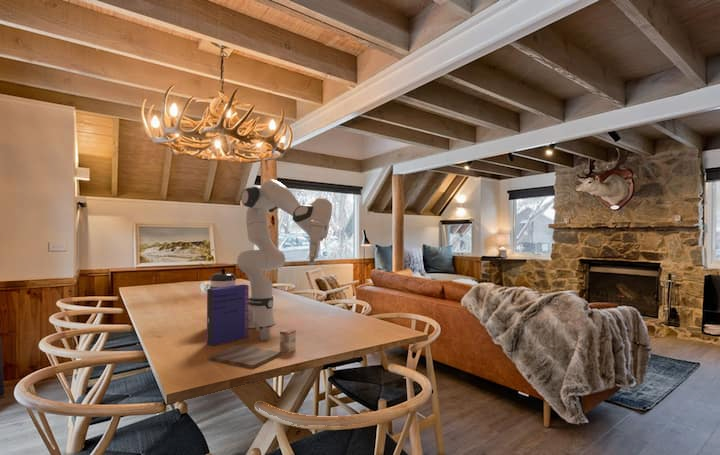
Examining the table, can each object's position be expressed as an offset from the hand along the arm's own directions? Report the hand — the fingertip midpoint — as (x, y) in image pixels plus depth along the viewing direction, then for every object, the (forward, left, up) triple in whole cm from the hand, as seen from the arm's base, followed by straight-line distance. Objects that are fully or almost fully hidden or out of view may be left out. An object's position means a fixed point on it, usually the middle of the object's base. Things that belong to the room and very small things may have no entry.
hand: (311, 259), depth 156 cm
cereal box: (-38, -7, -37) cm, 54 cm away
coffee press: (-58, +11, -37) cm, 70 cm away
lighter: (-26, +1, -37) cm, 45 cm away
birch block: (-6, -7, -37) cm, 38 cm away
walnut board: (-16, -21, -37) cm, 46 cm away
